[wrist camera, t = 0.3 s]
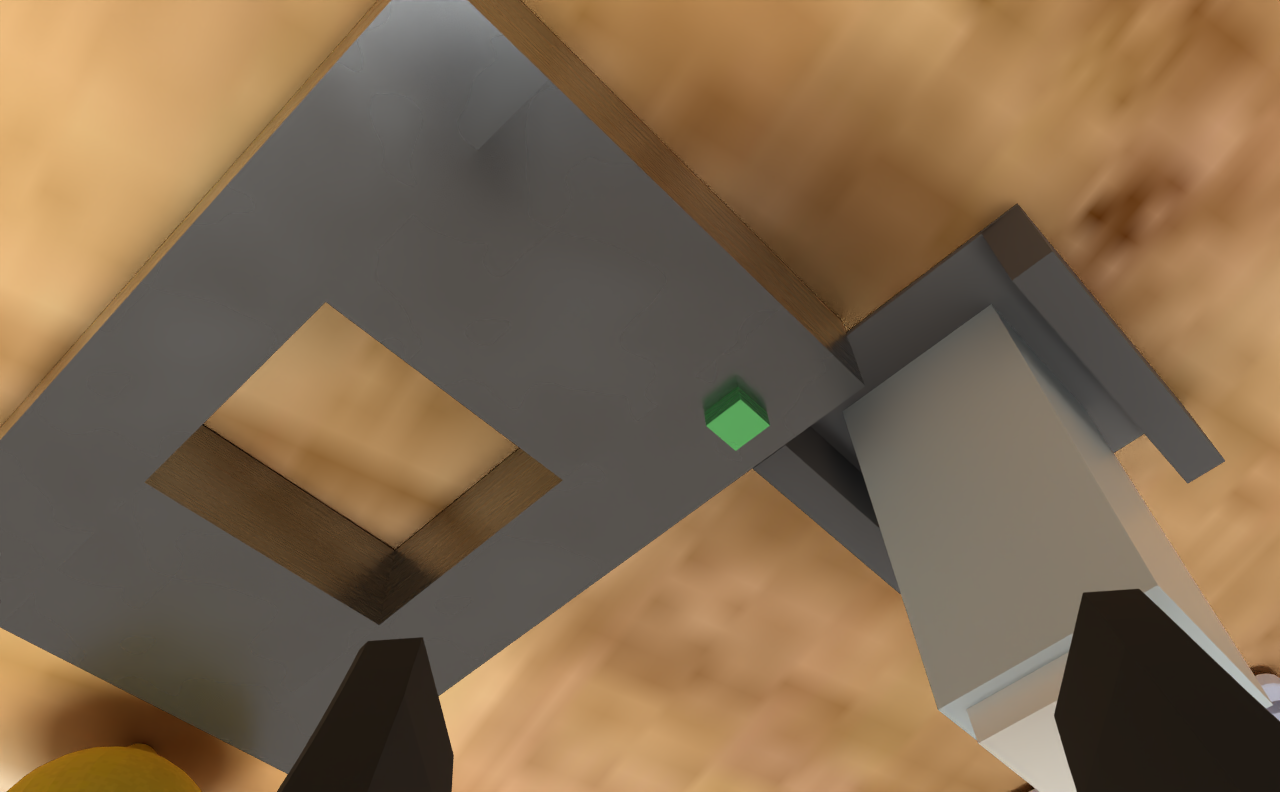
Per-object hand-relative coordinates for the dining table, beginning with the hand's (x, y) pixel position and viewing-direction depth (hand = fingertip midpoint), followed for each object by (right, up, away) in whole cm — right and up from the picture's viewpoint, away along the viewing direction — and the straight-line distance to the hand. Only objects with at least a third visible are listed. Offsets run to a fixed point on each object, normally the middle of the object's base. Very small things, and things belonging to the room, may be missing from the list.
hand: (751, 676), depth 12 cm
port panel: (-7, +3, +10) cm, 12 cm away
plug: (+5, +3, +10) cm, 12 cm away
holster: (+5, +3, +10) cm, 12 cm away
